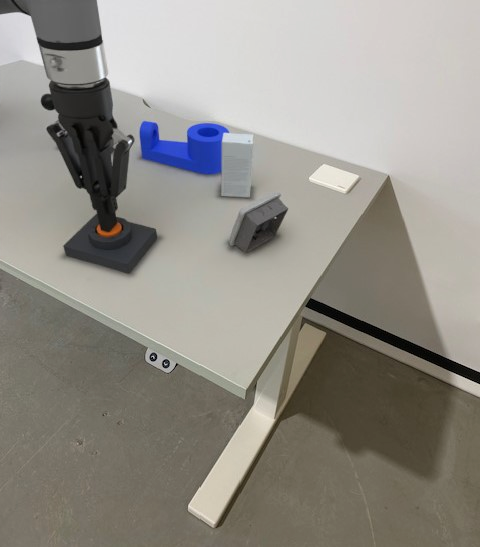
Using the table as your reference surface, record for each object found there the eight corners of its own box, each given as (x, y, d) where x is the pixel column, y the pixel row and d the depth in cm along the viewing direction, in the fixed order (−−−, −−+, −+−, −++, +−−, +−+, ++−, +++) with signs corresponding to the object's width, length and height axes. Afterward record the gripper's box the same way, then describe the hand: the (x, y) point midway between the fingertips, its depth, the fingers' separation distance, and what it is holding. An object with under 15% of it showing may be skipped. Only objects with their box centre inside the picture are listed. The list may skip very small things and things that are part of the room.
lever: (44, 115, 96) (34, 100, 94) (54, 109, 99) (44, 94, 97) (84, 92, 89) (74, 75, 87) (94, 86, 91) (84, 70, 89)
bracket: (232, 158, 98) (233, 126, 93) (221, 177, 92) (222, 144, 86) (153, 145, 101) (150, 113, 96) (138, 162, 94) (134, 130, 89)
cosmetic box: (250, 187, 89) (254, 133, 81) (249, 198, 86) (254, 143, 78) (221, 185, 89) (223, 131, 81) (220, 196, 86) (221, 141, 78)
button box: (65, 255, 71) (60, 237, 68) (98, 223, 78) (94, 204, 75) (129, 273, 68) (126, 255, 66) (157, 238, 75) (155, 220, 73)
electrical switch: (263, 225, 80) (271, 184, 73) (283, 240, 78) (293, 200, 71) (227, 245, 75) (232, 204, 68) (246, 262, 73) (254, 221, 66)
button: (93, 239, 70) (91, 231, 69) (106, 226, 73) (105, 218, 72) (114, 245, 69) (113, 237, 68) (127, 231, 72) (125, 223, 71)
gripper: (15, 79, 52) (61, 230, 69) (107, 97, 50) (132, 249, 66) (53, 62, 58) (87, 206, 74) (138, 77, 55) (154, 222, 71)
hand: (109, 226), depth 70 cm, fingers closed
